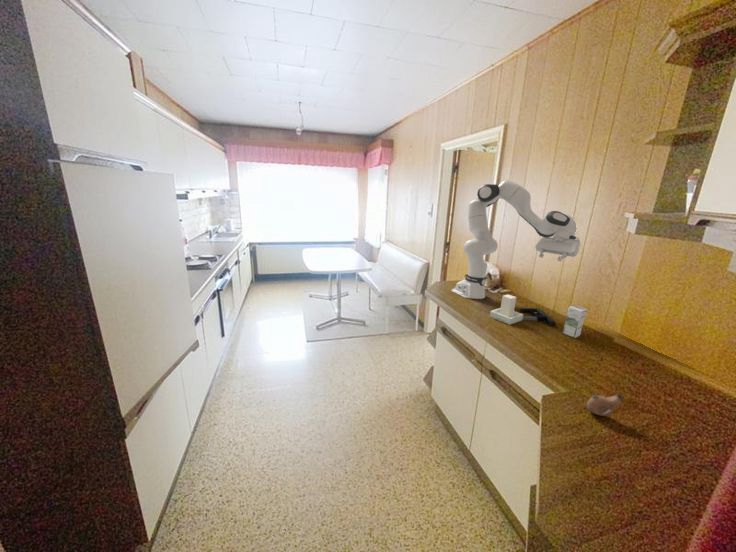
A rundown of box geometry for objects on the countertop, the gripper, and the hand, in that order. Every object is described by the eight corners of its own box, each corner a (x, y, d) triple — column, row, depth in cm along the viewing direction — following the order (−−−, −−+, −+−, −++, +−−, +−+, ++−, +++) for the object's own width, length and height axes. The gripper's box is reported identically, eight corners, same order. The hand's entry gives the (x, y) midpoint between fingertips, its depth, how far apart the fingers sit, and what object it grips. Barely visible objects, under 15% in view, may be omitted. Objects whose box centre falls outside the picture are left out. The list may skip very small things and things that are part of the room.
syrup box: (580, 335, 140) (587, 308, 136) (574, 338, 137) (581, 310, 133) (567, 330, 145) (574, 304, 141) (561, 333, 142) (568, 306, 138)
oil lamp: (613, 412, 90) (620, 391, 88) (621, 422, 86) (629, 400, 84) (582, 408, 91) (588, 387, 89) (589, 417, 87) (596, 395, 85)
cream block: (499, 316, 158) (502, 295, 154) (504, 314, 160) (507, 294, 157) (507, 319, 154) (511, 298, 150) (512, 317, 156) (516, 297, 153)
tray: (489, 316, 159) (490, 310, 158) (501, 312, 165) (502, 306, 164) (509, 325, 149) (510, 318, 148) (522, 320, 156) (523, 314, 155)
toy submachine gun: (526, 320, 150) (559, 321, 148) (512, 306, 169) (541, 307, 167) (525, 326, 151) (558, 327, 149) (512, 311, 170) (540, 312, 168)
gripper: (541, 233, 162) (528, 251, 160) (582, 238, 146) (569, 258, 143) (543, 240, 166) (531, 258, 163) (583, 245, 149) (571, 266, 147)
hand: (549, 258), depth 153 cm, fingers open, 8 cm apart
